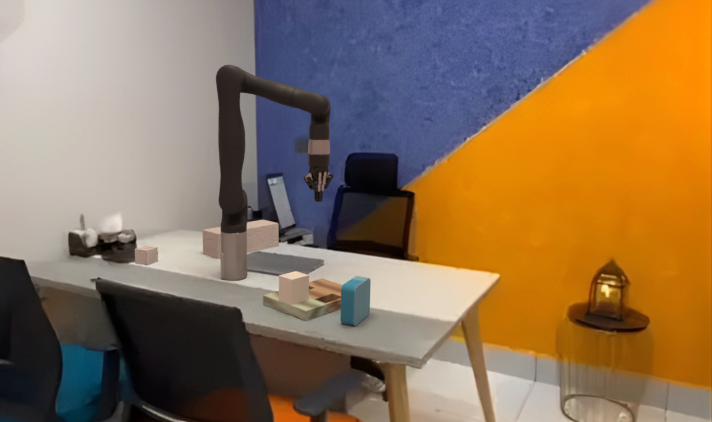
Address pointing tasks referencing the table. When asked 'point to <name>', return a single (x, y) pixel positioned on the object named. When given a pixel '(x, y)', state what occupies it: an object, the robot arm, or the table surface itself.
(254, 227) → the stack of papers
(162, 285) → the table surface
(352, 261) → the table surface
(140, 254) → the pale pink cube
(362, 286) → the data package
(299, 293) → the block
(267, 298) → the board
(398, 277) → the table surface
